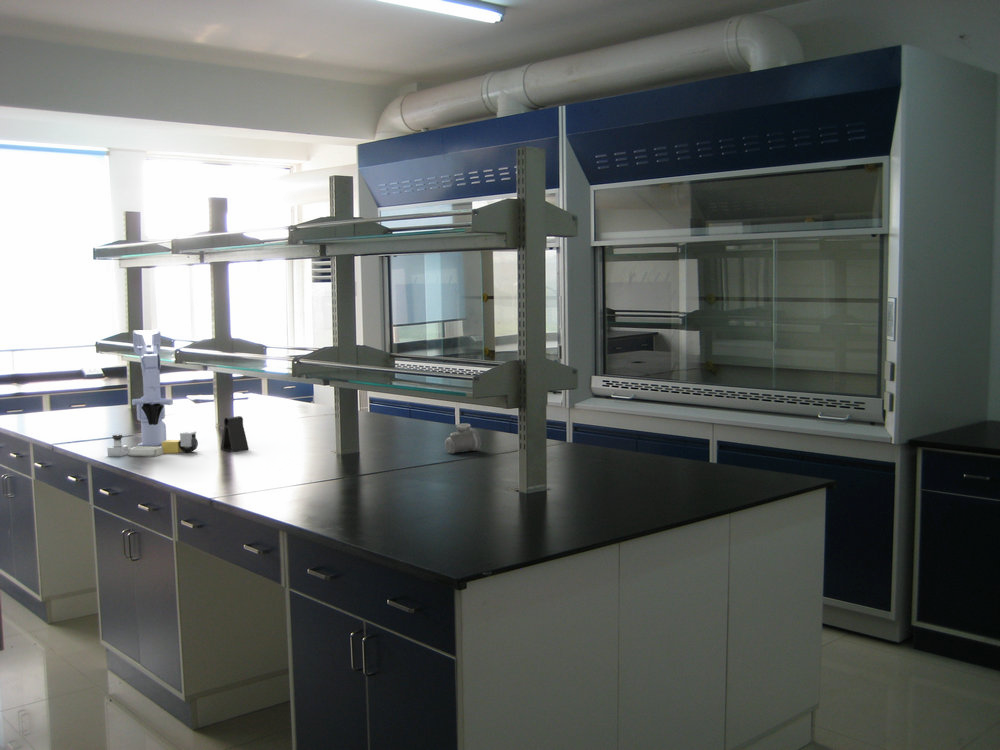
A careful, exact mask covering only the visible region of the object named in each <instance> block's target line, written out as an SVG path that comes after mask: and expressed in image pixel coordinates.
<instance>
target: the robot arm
mask: <svg viewBox="0 0 1000 750" xmlns="http://www.w3.org/2000/svg"><path fill="white" fill-rule="evenodd" d="M161 339H162V338H161V331H160V330H159V329H149V330H147V329H146V330H141V329H140V330H136V329H134V330H133V331H132V342H133V351H134V354H135V355H138V356H139V358H140V369H141V374H142V387H143V395H142V396H141V397H139V398H133V399H132V400H131V405H132V406H136V419H137V420H138V421H139V422H140V427H141V443H138V444H137V445H136V446H150V447H159V446H162V442H163V441H166V440H167V426H166V423H165V422H164V421H163V420H164V419H165V418H166V409H165V406H166V405H167V406H172V405H173V404H174V403H173V402H174V401H173V398H162V396H161V395H162V393H161V377H160V376H161V375H160V373H161V372H160V371H161V367H162V366H161V365H162V364H161V361H162V360H161V354H160V352H161V344H162V343H161V342H162V341H161Z"/></svg>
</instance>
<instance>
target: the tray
mask: <svg viewBox="0 0 1000 750" xmlns="http://www.w3.org/2000/svg"><path fill="white" fill-rule="evenodd" d="M128 453H129V454H128V457H157V456H158V457H159V456H160V455H164V454H165V453H164V448H163V447H162V446H138V445H136V446H134V447H130V448H128Z"/></svg>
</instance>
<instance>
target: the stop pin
mask: <svg viewBox="0 0 1000 750" xmlns="http://www.w3.org/2000/svg"><path fill="white" fill-rule="evenodd" d="M112 439H113V446H114V447H122V445H123V444H122V439H123V434H113V435H112Z"/></svg>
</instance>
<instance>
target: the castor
mask: <svg viewBox="0 0 1000 750" xmlns="http://www.w3.org/2000/svg"><path fill="white" fill-rule="evenodd" d="M179 436H180V439H179V440H180V441H179V447H180V449H181V450H182V452H184V453H186V454H187V453H188V454H189V453H192V452H194V451H196V450H197V449H198V444H199V442H198V439H197V431H187V430H185V431H182V432H180V433H179Z"/></svg>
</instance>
